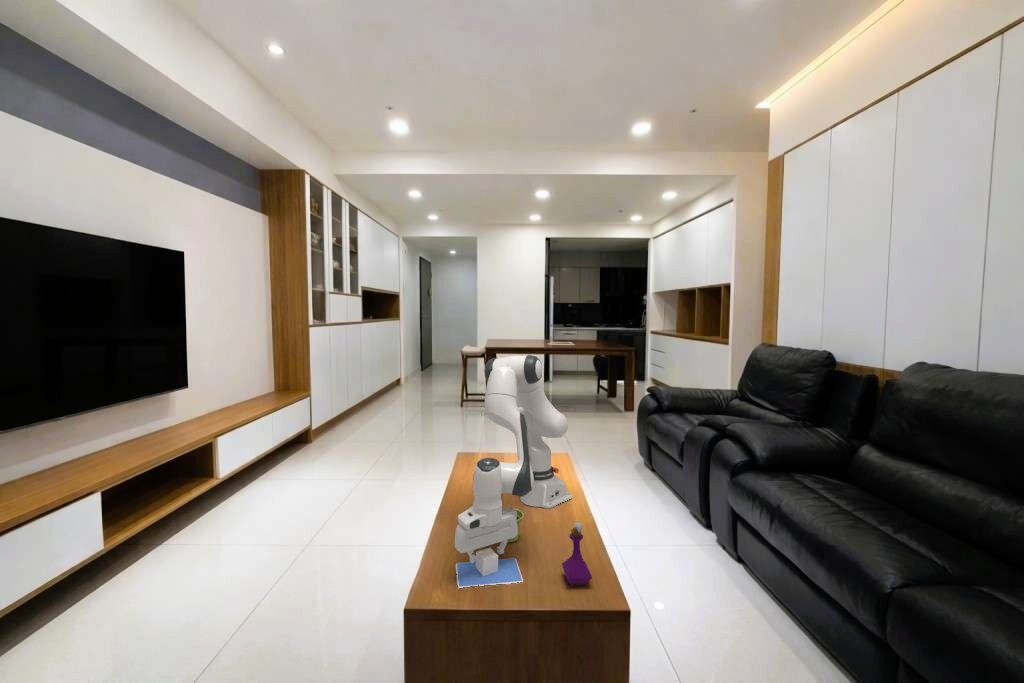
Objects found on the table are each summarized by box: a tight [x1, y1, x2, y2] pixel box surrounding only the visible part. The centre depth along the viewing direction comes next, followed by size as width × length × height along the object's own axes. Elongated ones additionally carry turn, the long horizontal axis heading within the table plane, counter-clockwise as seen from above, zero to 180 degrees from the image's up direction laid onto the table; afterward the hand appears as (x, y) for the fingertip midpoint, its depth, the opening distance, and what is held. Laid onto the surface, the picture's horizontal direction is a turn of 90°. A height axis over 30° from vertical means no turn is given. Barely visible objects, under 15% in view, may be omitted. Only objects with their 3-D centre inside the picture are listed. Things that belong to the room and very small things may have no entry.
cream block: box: [475, 547, 499, 576], centre depth 131 cm, size 5×5×5 cm
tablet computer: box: [455, 557, 524, 589], centre depth 130 cm, size 19×13×1 cm, turn 100°
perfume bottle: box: [561, 522, 593, 586], centre depth 126 cm, size 8×8×18 cm
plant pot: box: [502, 507, 524, 543], centre depth 150 cm, size 9×9×9 cm
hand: (486, 557), depth 131 cm, fingers open, 8 cm apart
